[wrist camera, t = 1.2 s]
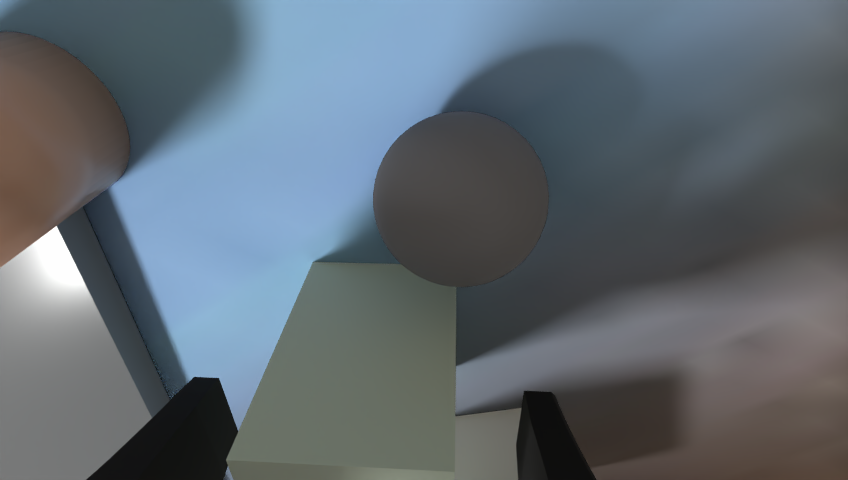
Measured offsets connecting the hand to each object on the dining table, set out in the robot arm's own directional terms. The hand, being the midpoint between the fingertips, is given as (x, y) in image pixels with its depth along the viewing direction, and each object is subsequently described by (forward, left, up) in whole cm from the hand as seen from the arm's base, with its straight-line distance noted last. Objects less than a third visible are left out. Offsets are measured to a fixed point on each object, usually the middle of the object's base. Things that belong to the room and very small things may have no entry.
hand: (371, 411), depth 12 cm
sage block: (0, 0, -3) cm, 3 cm away
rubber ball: (+5, -2, -3) cm, 6 cm away
